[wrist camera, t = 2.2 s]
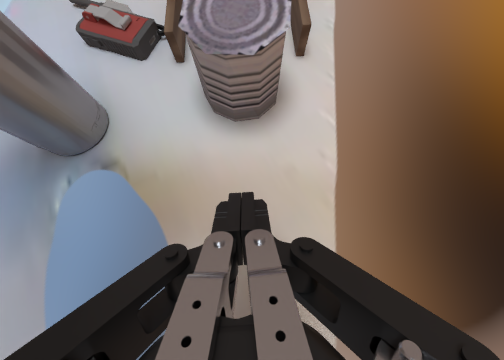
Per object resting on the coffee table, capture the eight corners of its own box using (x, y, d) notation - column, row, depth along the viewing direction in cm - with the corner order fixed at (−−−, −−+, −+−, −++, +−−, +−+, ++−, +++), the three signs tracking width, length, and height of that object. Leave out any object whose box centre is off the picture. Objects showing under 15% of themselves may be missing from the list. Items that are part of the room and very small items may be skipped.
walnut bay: (174, 62, 34) (161, 32, 29) (179, -10, 39) (169, -46, 34) (305, 55, 34) (314, 24, 29) (293, -16, 39) (298, -52, 34)
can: (294, 89, 32) (317, 1, 20) (240, 136, 30) (232, 66, 18) (242, 49, 34) (236, -49, 23) (189, 90, 32) (153, 2, 21)
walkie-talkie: (176, 29, 37) (79, 2, 39) (165, 0, 32) (58, -27, 35) (151, 66, 34) (49, 35, 36) (137, 40, 30) (22, 7, 32)
